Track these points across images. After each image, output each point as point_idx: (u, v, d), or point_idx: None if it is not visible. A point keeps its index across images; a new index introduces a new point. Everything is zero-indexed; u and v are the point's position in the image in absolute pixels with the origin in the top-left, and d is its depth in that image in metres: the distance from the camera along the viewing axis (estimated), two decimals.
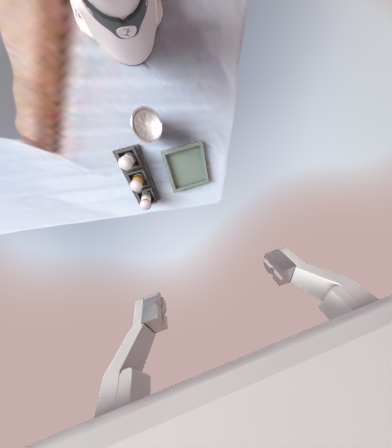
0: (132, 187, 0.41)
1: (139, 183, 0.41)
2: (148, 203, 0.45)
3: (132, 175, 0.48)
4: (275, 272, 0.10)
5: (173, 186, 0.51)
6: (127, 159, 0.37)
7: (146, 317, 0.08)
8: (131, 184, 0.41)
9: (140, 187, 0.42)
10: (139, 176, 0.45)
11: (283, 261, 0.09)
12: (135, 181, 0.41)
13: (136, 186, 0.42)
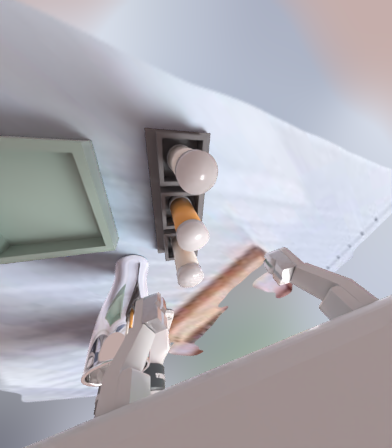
0: (204, 237, 0.15)
1: (182, 244, 0.15)
2: (184, 177, 0.11)
3: None
4: (275, 272, 0.10)
5: (82, 167, 0.15)
6: (183, 284, 0.18)
7: (146, 317, 0.08)
8: (202, 244, 0.15)
9: (184, 234, 0.14)
10: None
11: (283, 261, 0.09)
12: (189, 249, 0.15)
13: (193, 238, 0.15)
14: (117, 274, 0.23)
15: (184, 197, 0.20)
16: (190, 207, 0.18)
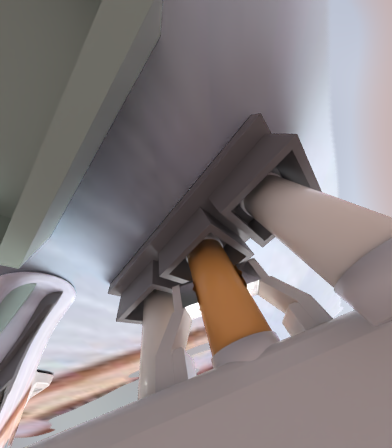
0: None
1: None
2: None
3: None
4: None
5: (107, 42, 0.05)
6: None
7: (186, 302, 0.08)
8: None
9: None
10: (193, 280, 0.10)
11: (249, 274, 0.09)
12: None
13: None
14: None
15: (221, 243, 0.12)
16: (239, 276, 0.10)
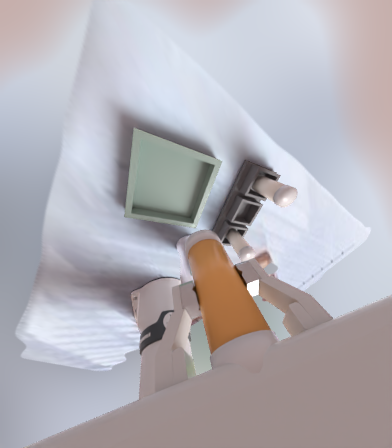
0: None
1: None
2: (282, 197, 0.22)
3: (243, 214, 0.34)
4: None
5: (214, 173, 0.25)
6: (242, 258, 0.28)
7: (186, 302, 0.08)
8: None
9: None
10: (193, 280, 0.10)
11: (249, 273, 0.09)
12: None
13: None
14: None
15: (221, 243, 0.12)
16: (239, 276, 0.10)
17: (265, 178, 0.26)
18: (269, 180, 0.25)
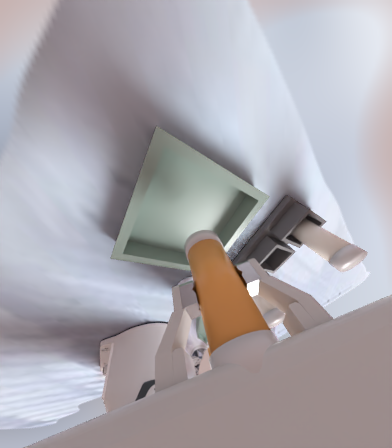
0: None
1: None
2: (348, 262, 0.16)
3: None
4: None
5: (254, 211, 0.17)
6: (269, 325, 0.21)
7: (186, 302, 0.08)
8: None
9: None
10: (193, 280, 0.10)
11: (249, 273, 0.09)
12: None
13: None
14: None
15: (221, 244, 0.12)
16: (239, 276, 0.10)
17: (312, 224, 0.20)
18: (320, 229, 0.19)
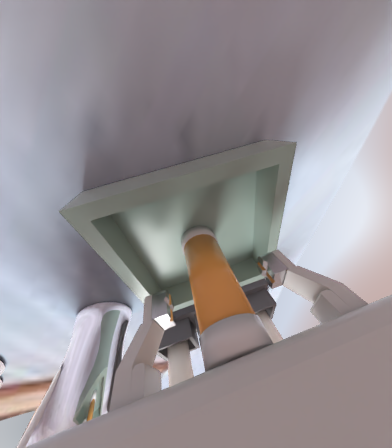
0: None
1: (216, 365, 0.06)
2: None
3: None
4: (267, 275, 0.10)
5: (253, 279, 0.16)
6: None
7: (155, 313, 0.08)
8: None
9: (239, 353, 0.06)
10: None
11: (275, 264, 0.09)
12: None
13: None
14: (106, 332, 0.15)
15: (216, 239, 0.13)
16: (230, 268, 0.10)
17: (269, 317, 0.21)
18: (274, 326, 0.20)
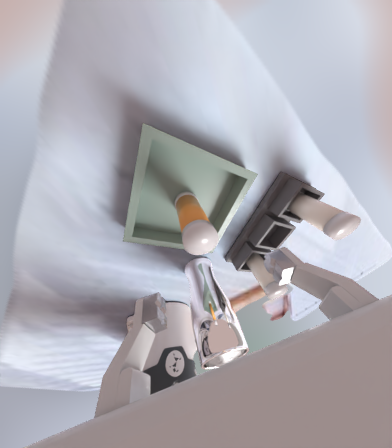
0: (212, 237, 0.13)
1: (190, 249, 0.13)
2: (339, 229, 0.16)
3: (268, 236, 0.28)
4: (275, 272, 0.10)
5: (244, 190, 0.19)
6: (270, 296, 0.23)
7: (146, 317, 0.08)
8: (213, 244, 0.14)
9: (189, 240, 0.13)
10: None
11: (283, 261, 0.09)
12: (200, 252, 0.14)
13: (200, 241, 0.13)
14: (197, 272, 0.26)
15: (187, 194, 0.19)
16: (193, 205, 0.16)
17: (307, 197, 0.21)
18: (315, 201, 0.19)
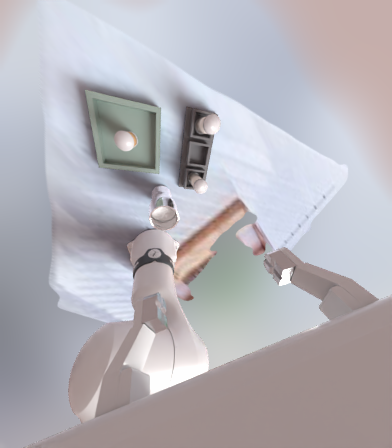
0: (129, 137, 0.27)
1: (121, 147, 0.27)
2: (207, 124, 0.28)
3: (201, 160, 0.40)
4: (275, 272, 0.10)
5: (158, 120, 0.32)
6: (196, 189, 0.35)
7: (146, 317, 0.08)
8: (131, 142, 0.27)
9: (117, 140, 0.26)
10: None
11: (283, 261, 0.09)
12: (127, 149, 0.28)
13: (123, 140, 0.27)
14: (155, 191, 0.40)
15: (126, 131, 0.32)
16: None
17: (202, 117, 0.32)
18: (203, 117, 0.31)
